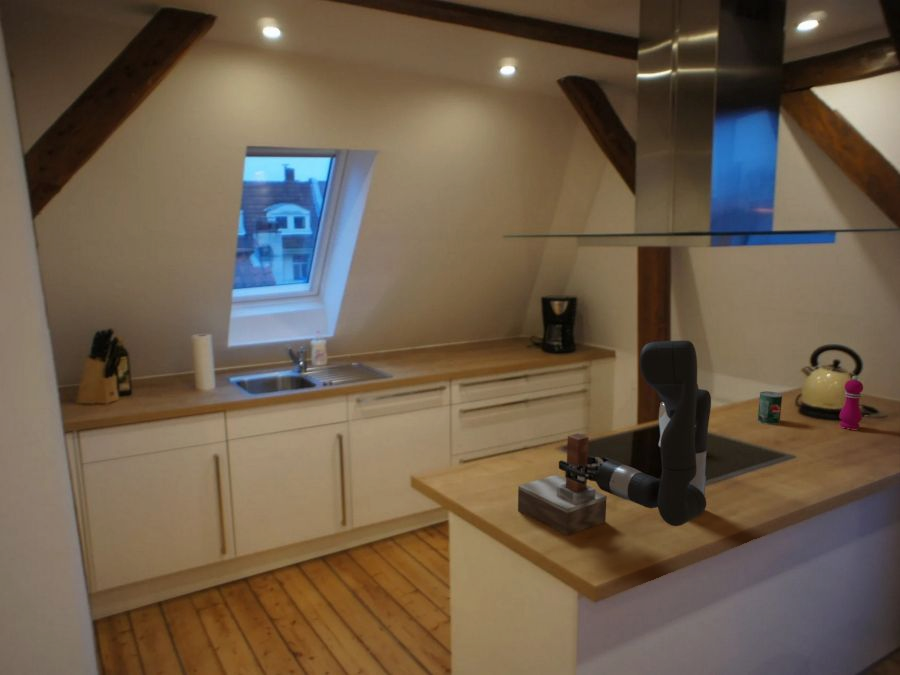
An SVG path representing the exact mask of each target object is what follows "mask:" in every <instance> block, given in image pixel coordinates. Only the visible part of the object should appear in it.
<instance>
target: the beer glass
mask: <svg viewBox="0 0 900 675" xmlns="http://www.w3.org/2000/svg"><path fill="white" fill-rule="evenodd" d="M669 421H670V418H669V417H668V415H667V412H666V409H665V405H664V403H663V401H661V402H660V406H659V412H658V423H659V424H658V425H659V435H660V436H659V441H658V447H660V443H661V437H662V434H663V431H664V429H665V427H666V426H667V424H668V422H669Z"/></svg>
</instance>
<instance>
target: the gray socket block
mask: <svg viewBox="0 0 900 675" xmlns="http://www.w3.org/2000/svg"><path fill="white" fill-rule="evenodd" d="M517 489H518V491H517V492H518V494H517V496H518V497H517V511H518V512H520V513H522V514H524V515H526V516H527V517H529V518H531V519H534V520H535V521H537V522H538V523H541V524H543V525H544V526H546V527H548V528H551V529H552V530H554V531H556V532H558V533H560V534H562V535H564V536H565V537H567V536H570V535H573V534H576V533H579V532H582V531H584V530H587V529H589V528H592V527H595V526H598V525H600V524H603V523H606V521H607V520H606V517H607V514H606V513H607V495H605V494H603V493H602V492H599V491H596V490H597V489H596V488H594V487H592V486H589V485H587V486H586V490H583V491H580V492H574V491H572V490H570V489H567V488H566V477H565V476H564V477H563V476H562V475H559V474H554V475H551V476H547V477H543V478H540V479H536V480H532V481H530V482H527V483H526V482H525V483H523V484H520V485H518V488H517Z"/></svg>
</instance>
